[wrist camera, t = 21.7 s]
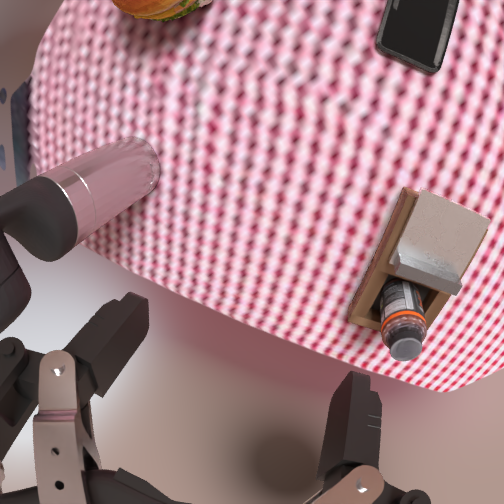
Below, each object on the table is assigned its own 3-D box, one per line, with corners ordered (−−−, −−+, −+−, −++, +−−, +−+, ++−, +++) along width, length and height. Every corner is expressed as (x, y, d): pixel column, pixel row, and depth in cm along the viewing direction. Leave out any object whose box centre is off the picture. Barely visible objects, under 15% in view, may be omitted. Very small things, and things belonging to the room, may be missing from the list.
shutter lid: (388, 259, 37) (390, 274, 34) (421, 186, 31) (427, 196, 29) (452, 283, 35) (458, 298, 33) (488, 217, 30) (498, 229, 27)
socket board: (348, 308, 46) (347, 321, 43) (403, 186, 35) (407, 194, 32) (416, 329, 44) (418, 342, 42) (480, 219, 33) (488, 230, 31)
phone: (464, -25, 18) (438, 75, 26) (461, -23, 19) (435, 76, 27) (401, -54, 19) (373, 46, 27) (400, -51, 20) (372, 47, 28)
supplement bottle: (421, 303, 42) (432, 361, 32) (384, 312, 44) (386, 371, 35) (415, 270, 39) (427, 327, 30) (374, 281, 42) (377, 339, 33)
